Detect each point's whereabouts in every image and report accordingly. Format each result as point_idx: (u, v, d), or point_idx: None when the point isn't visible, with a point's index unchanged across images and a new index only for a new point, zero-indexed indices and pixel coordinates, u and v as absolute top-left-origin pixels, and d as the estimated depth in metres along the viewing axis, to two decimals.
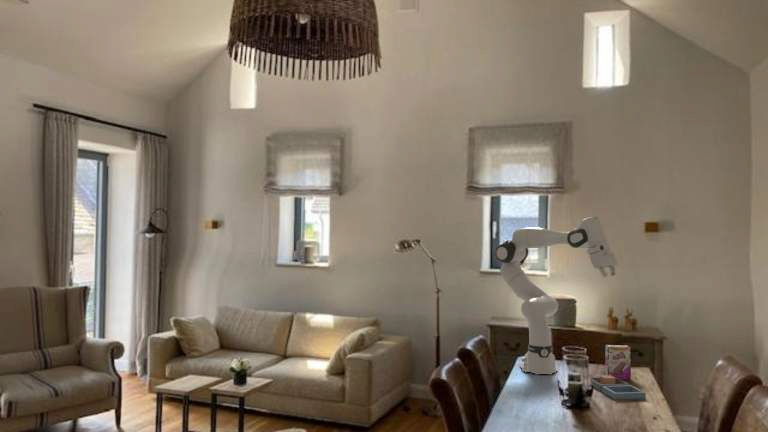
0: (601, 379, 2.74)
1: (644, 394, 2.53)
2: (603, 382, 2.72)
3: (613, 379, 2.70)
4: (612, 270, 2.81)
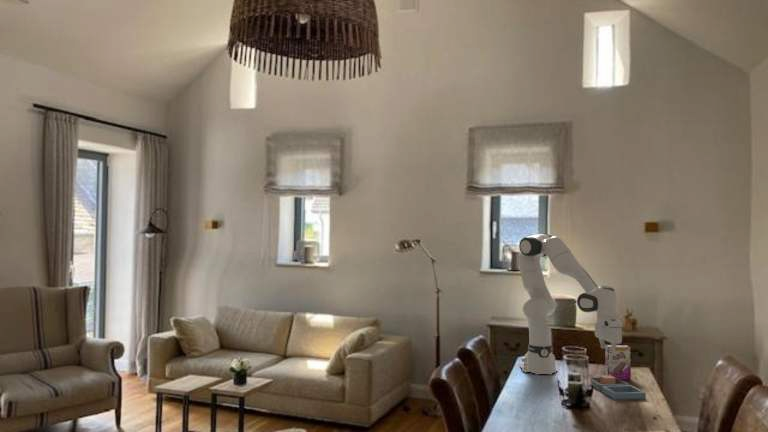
0: (601, 379, 2.74)
1: (644, 394, 2.53)
2: (603, 382, 2.72)
3: (613, 379, 2.70)
4: (602, 342, 2.78)
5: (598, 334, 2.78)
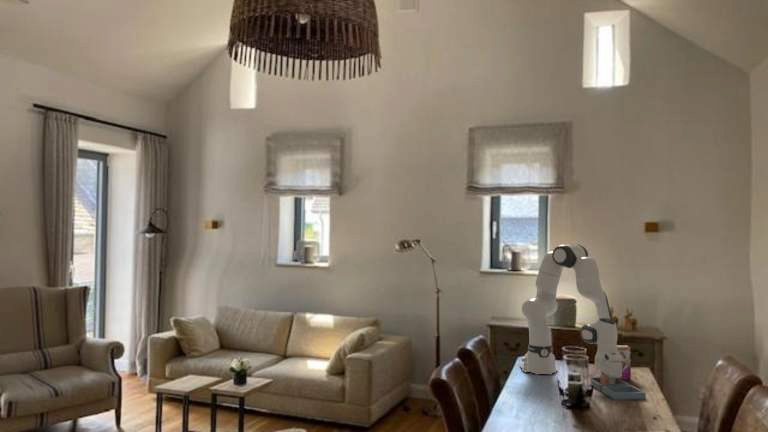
0: (601, 379, 2.74)
1: (644, 394, 2.53)
2: (603, 382, 2.72)
3: None
4: None
5: (598, 366, 2.78)
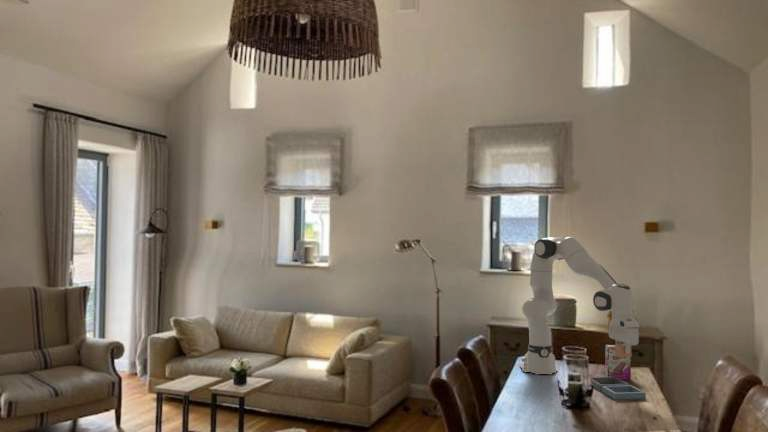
0: (616, 347, 2.60)
1: (644, 394, 2.53)
2: (618, 350, 2.58)
3: None
4: None
5: (612, 335, 2.64)
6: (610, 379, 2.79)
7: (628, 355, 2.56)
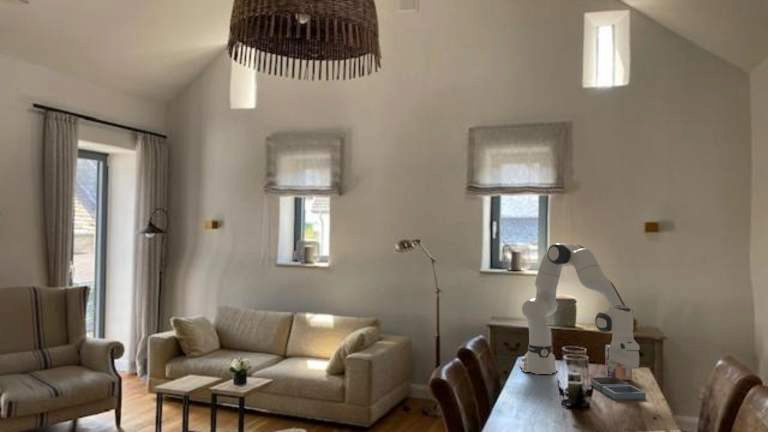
0: (616, 369, 2.59)
1: (644, 394, 2.53)
2: (619, 372, 2.57)
3: None
4: None
5: (613, 356, 2.64)
6: (610, 379, 2.79)
7: (628, 377, 2.56)
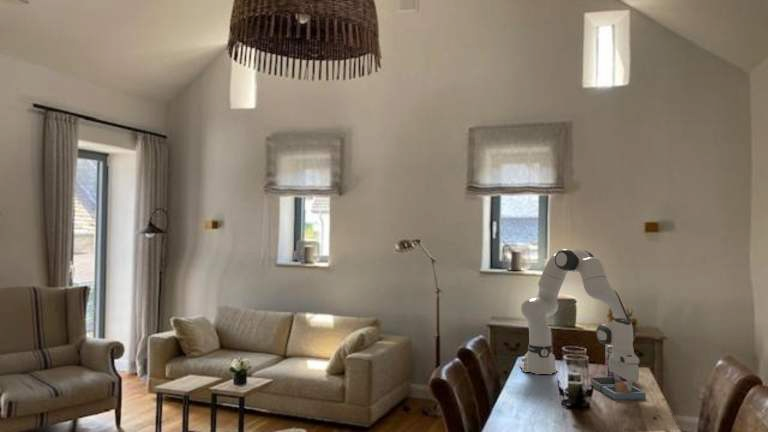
0: (616, 386, 2.59)
1: (644, 394, 2.53)
2: (618, 389, 2.57)
3: None
4: (617, 377, 2.64)
5: (613, 369, 2.64)
6: (610, 379, 2.79)
7: None
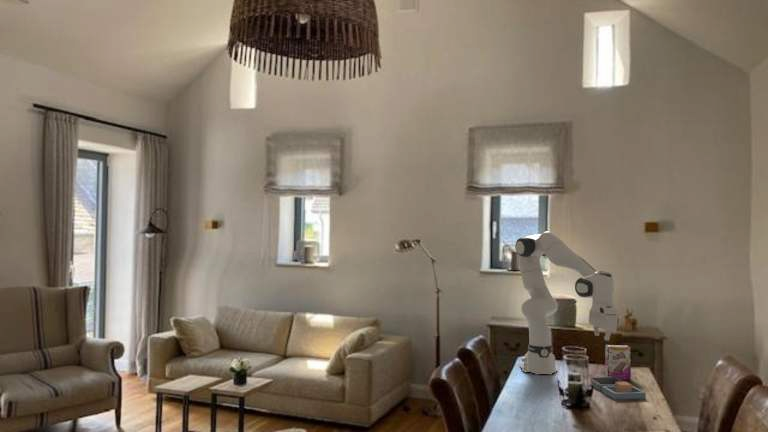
0: (616, 386, 2.59)
1: (644, 394, 2.53)
2: (618, 389, 2.57)
3: (629, 386, 2.56)
4: (596, 329, 2.68)
5: (592, 321, 2.69)
6: (610, 379, 2.79)
7: None
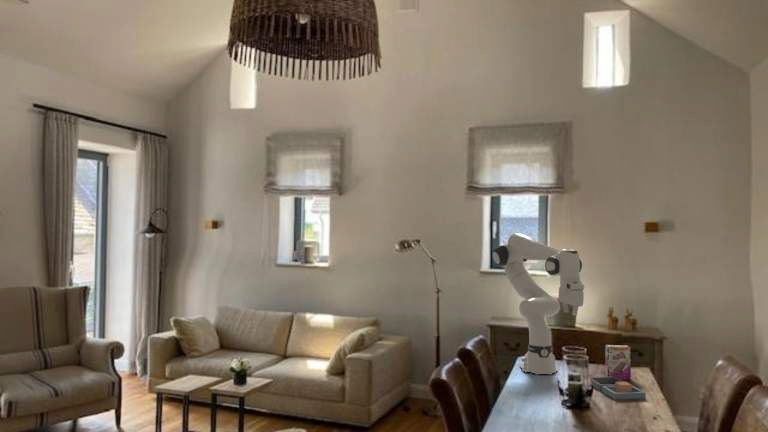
0: (616, 386, 2.59)
1: (644, 394, 2.53)
2: (618, 389, 2.57)
3: (629, 386, 2.56)
4: (565, 306, 2.74)
5: (561, 298, 2.75)
6: (610, 379, 2.79)
7: None
